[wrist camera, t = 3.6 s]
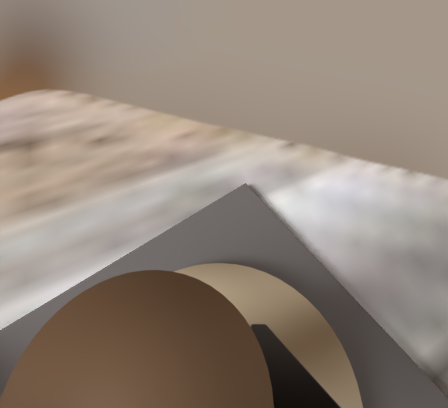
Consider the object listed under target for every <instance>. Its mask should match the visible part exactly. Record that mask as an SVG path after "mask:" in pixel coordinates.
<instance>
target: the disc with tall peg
mask: <svg viewBox="0 0 448 408" xmlns="http://www.w3.org/2000/svg"><path fill="white" fill-rule="evenodd" d="M252 324H266V325H267V326H268V327H269V328H270V329H271V330H272V331H273V332H274V334H275V335H276V336H277V337H278V338H279V339H280V340H281V341H282V343H283V344H284V345H285V346H286V347H287V348H288V349H289V350H290V351H291V353H292V354H293V355H294V356H295V357H296V358H297V359H298V360H299V361H300V363H301V364H302V365H303V366H304V367H305V368H306V369H307V370H308V371H309V373H310V374H311V375H312V376H313V377H314V378H315V379H316V380H317V381H318V383H319V384H320V385H321V386H322V387H323V388H324V389H325V390H326V391H327V393H328V394H329V395H330V396H331V397H332V398H333V399H334V400H335V401H336V403H337V404H338V405H339V406H340V407H341V408H363V405H362V400H361V396H360V392H359V388H358V383H357V381H356V378H355V375H354V372H353V369H352V366H351V363H350V361H349V359H348V357H347V355H346V353H345V350H344V348H343V346H342V344H341V342H340V341H339V339H338V338H337V336H336V334H335V333H334V331H333V329H332V328H331V326H330V325H329V324H328V322H327V321H326V320H325V319H324V317H323V316H322V315H321V313H320V312H319V311H318V310H317V309H316V308H315V307H314V306H313V305H312V304H311V303H310V302H309V301H308V300H307V299H306V298H305V297H304V296H303V295H301V294H300V293H299V292H298V291H297V290H295V289H294V288H293V287H291V286H290V285H288V284H286V283H285V282H283V281H282V280H280V279H278V278H276V277H274V276H272V275H270V274H268V273H266V272H263V271H260V270H257V269H254V268H251V267H247V266H242V265H237V264H227V263H210V264H201V265H195V266H190V267H187V268H183V269H180V270H177V271H174V272H172V271H164V270H142V271H136V272H130V273H125V274H122V275H118V276H115V277H112V278H110V279H107V280H105V281H102V282H100V283H98V284H96V285H94V286H92V287H91V288H89V289H87V290H85V291H83V292H82V293H81V294H79V295H78V296H76V297H75V298H73V299H72V300H70V301H69V302H68V303H67V304H66V305H64V306H63V307H62V308H61V309H60V310H59V311H57V312H56V313H55V314H54V315H53V316H52V317H51V318H50V319H49V320H48V321H47V322H46V323H45V325H44V326H43V327H42V328H41V329H40V331H39V332H38V333H37V334H36V335H35V337H34V338H33V339H32V340H31V342H30V343H29V345H28V346H27V348H26V349H25V351H24V352H23V354H22V355H21V357H20V359H19V360H18V362H17V364H16V366H15V368H14V370H13V371H12V373H11V375H10V377H9V380H8V382H7V384H6V387H5V389H4V391H3V394H2V396H1V399H0V408H274V403H273V393H272V386H271V381H270V376H269V371H268V367H267V364H266V361H265V358H264V355H263V352H262V349H261V347H260V345H259V343H258V340H257V338H256V336H255V334H254V332H253V331H252V329H251V327H250V326H251V325H252Z"/></svg>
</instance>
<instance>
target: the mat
mask: <svg viewBox="0 0 448 408" xmlns="http://www.w3.org/2000/svg"><path fill="white" fill-rule="evenodd" d="M210 263H227V264H237V265H242V266H247V267H251V268H254V269H257V270H260V271H263V272H266V273H268V274H270V275H272V276H274V277H276V278H278V279H280V280H282V281H283V282H285V283H286V284H288V285H290V286H291V287H293V288H294V289H295V290H297V291H298V292H299V293H300V294H301V295H303V296H304V297H305V298H306V299H307V300H308V301H309V302H310V303H311V304H312V305H313V306H314V307H315V308H316V309H317V310H318V311H319V312H320V313H321V315H322V316H323V317H324V319H325V320H326V321H327V322H328V324H329V325H330V326H331V328H332V329H333V331H334V333H335V334H336V336H337V338H338V339H339V341H340V342H341V344H342V346H343V348H344V350H345V353H346V355H347V357H348V359H349V361H350V363H351V366H352V369H353V372H354V375H355V378H356V381H357V383H358V388H359V392H360V396H361V400H362V405H363V408H448V398H447V397H446V396H445V394H444V393H443V392H442V391H441V390H440V389H439V388H438V387H437V386H436V385H435V384H434V383H433V382H432V381H431V380H430V379H429V377H428V376H427V375H426V374H425V373H424V372H423V371H422V370H421V369H420V368H419V367H418V366H417V365H416V364H415V363H414V362H413V360H412V359H411V358H410V357H409V356H408V355H407V354H406V353H405V352H404V351H403V350H402V349H401V348H400V347H399V346H398V345H397V343H396V342H395V341H394V340H393V339H392V338H391V337H390V336H389V335H388V334H387V333H386V332H385V331H384V330H383V329H382V328H381V327H380V325H379V324H378V323H377V322H376V321H375V320H374V319H373V318H372V317H371V316H370V315H369V314H368V313H367V312H366V311H365V310H364V308H363V307H362V306H361V305H360V304H359V303H358V302H357V301H356V300H355V299H354V298H353V297H352V296H351V295H350V294H349V293H348V291H347V290H346V289H345V288H344V287H343V286H342V285H341V284H340V283H339V282H338V281H337V280H336V279H335V278H334V277H333V276H332V275H331V273H330V272H329V271H328V270H327V269H326V268H325V267H324V266H323V265H322V264H321V263H320V262H319V261H318V260H317V259H316V258H315V256H314V255H313V254H312V253H311V252H310V251H309V250H308V249H307V248H306V247H305V246H304V245H303V244H302V243H301V242H300V241H299V239H298V238H297V237H296V236H295V235H294V234H293V233H292V232H291V231H290V230H289V229H288V228H287V227H286V226H285V225H284V224H283V223H282V221H281V220H280V219H279V218H278V217H277V216H276V215H275V214H274V213H273V212H272V211H271V210H270V209H269V208H268V207H267V206H266V204H265V203H264V202H263V201H262V200H261V199H260V198H259V197H258V196H257V195H256V194H255V193H254V192H253V191H252V190H251V189H250V187H249V186H248V185H247V184H246V183H245V184H243V185H242V186H240V187H238V188H237V189H235V190H233V191H232V192H230V193H228V194H227V195H225V196H223V197H222V198H220V199H218V200H217V201H215V202H213V203H212V204H210V205H209V206H207V207H205V208H204V209H202V210H200V211H199V212H197V213H195V214H194V215H192V216H190V217H189V218H187V219H185V220H184V221H182V222H180V223H179V224H177V225H175V226H174V227H172V228H170V229H169V230H167V231H165V232H164V233H162V234H160V235H159V236H157V237H155V238H154V239H152V240H150V241H149V242H147V243H145V244H144V245H142V246H140V247H139V248H137V249H135V250H134V251H132V252H130V253H129V254H127V255H125V256H124V257H122V258H120V259H119V260H117V261H115V262H114V263H112V264H110V265H109V266H107V267H105V268H104V269H102V270H100V271H99V272H97V273H95V274H94V275H92V276H90V277H89V278H87V279H85V280H84V281H82V282H80V283H79V284H77V285H75V286H74V287H72V288H70V289H69V290H67V291H65V292H64V293H62V294H60V295H59V296H57V297H55V298H54V299H52V300H50V301H49V302H47V303H45V304H44V305H42V306H40V307H39V308H37V309H35V310H34V311H32V312H30V313H29V314H27V315H25V316H24V317H22V318H20V319H19V320H17V321H15V322H14V323H12V324H10V325H9V326H7V327H5V328H4V329H2V330H0V399H1V396H2V394H3V391H4V389H5V387H6V384H7V382H8V380H9V377H10V375H11V373H12V371H13V370H14V368H15V366H16V364H17V362H18V360H19V359H20V357H21V355H22V354H23V352H24V351H25V349H26V348H27V346H28V345H29V343H30V342H31V340H32V339H33V338H34V337H35V335H36V334H37V333H38V332H39V331H40V329H41V328H42V327H43V326H44V325H45V323H46V322H47V321H48V320H49V319H50V318H51V317H52V316H53V315H54V314H55V313H56V312H57V311H59V310H60V309H61V308H62V307H63V306H64V305H66V304H67V303H68V302H69V301H70V300H72V299H73V298H75V297H76V296H78V295H79V294H81V293H82V292H83V291H85V290H87V289H89V288H91V287H92V286H94V285H96V284H98V283H100V282H102V281H105V280H107V279H110V278H112V277H115V276H118V275H122V274H125V273H130V272H136V271H142V270H164V271H172V272H174V271H177V270H180V269H183V268H187V267H190V266H195V265H201V264H210Z"/></svg>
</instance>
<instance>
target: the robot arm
mask: <svg viewBox="0 0 448 408" xmlns="http://www.w3.org/2000/svg"><path fill="white" fill-rule="evenodd" d="M250 327H251V329H252V331H253V332H254V334H255V336H256V338H257V340H258V343H259V345H260V347H261V349H262V352H263V355H264V358H265V361H266V364H267V367H268V371H269V376H270V381H271V386H272V393H273V403H274V408H341V407H340V406H339V405H338V404H337V403H336V401H335V400H334V399H333V398H332V397H331V396H330V395H329V394H328V393H327V391H326V390H325V389H324V388H323V387H322V386H321V385H320V384H319V383H318V381H317V380H316V379H315V378H314V377H313V376H312V375H311V374H310V373H309V371H308V370H307V369H306V368H305V367H304V366H303V365H302V364H301V363H300V361H299V360H298V359H297V358H296V357H295V356H294V355H293V354H292V353H291V351H290V350H289V349H288V348H287V347H286V346H285V345H284V344H283V343H282V341H281V340H280V339H279V338H278V337H277V336H276V335H275V334H274V332H273V331H272V330H271V329H270V328H269V327H268V326H267V325H266V324H252V325H251V326H250Z"/></svg>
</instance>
